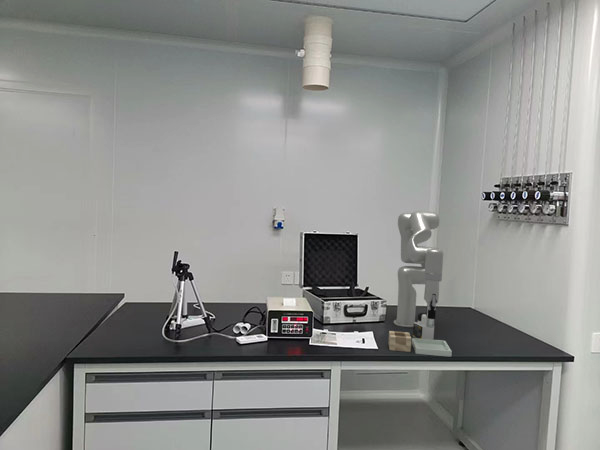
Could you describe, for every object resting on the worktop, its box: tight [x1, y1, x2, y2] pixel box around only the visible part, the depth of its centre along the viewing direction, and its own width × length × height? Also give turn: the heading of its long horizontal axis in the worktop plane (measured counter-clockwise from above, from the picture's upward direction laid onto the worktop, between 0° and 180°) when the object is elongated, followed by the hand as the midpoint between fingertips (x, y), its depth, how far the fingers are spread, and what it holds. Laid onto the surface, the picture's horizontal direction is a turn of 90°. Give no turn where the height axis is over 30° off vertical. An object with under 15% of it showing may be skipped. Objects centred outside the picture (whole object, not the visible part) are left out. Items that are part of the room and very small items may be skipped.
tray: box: [411, 337, 453, 358], centre depth 203 cm, size 15×15×2 cm
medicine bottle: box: [412, 312, 435, 340], centre depth 220 cm, size 7×7×12 cm
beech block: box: [388, 330, 412, 353], centre depth 204 cm, size 9×9×6 cm
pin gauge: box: [426, 302, 435, 328], centre depth 202 cm, size 3×3×12 cm
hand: (430, 317), depth 202 cm, fingers closed on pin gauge, 3 cm apart
